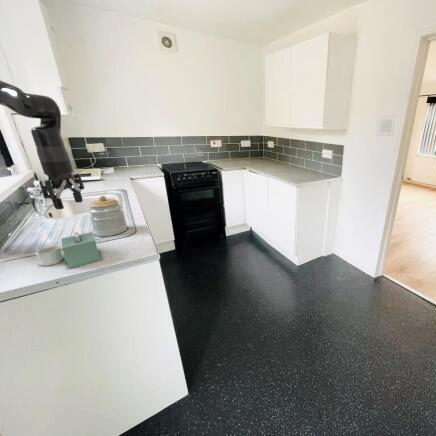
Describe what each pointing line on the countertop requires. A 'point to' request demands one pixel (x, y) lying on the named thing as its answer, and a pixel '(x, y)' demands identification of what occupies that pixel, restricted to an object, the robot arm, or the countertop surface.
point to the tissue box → (80, 249)
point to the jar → (107, 217)
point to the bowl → (49, 255)
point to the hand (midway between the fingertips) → (70, 205)
